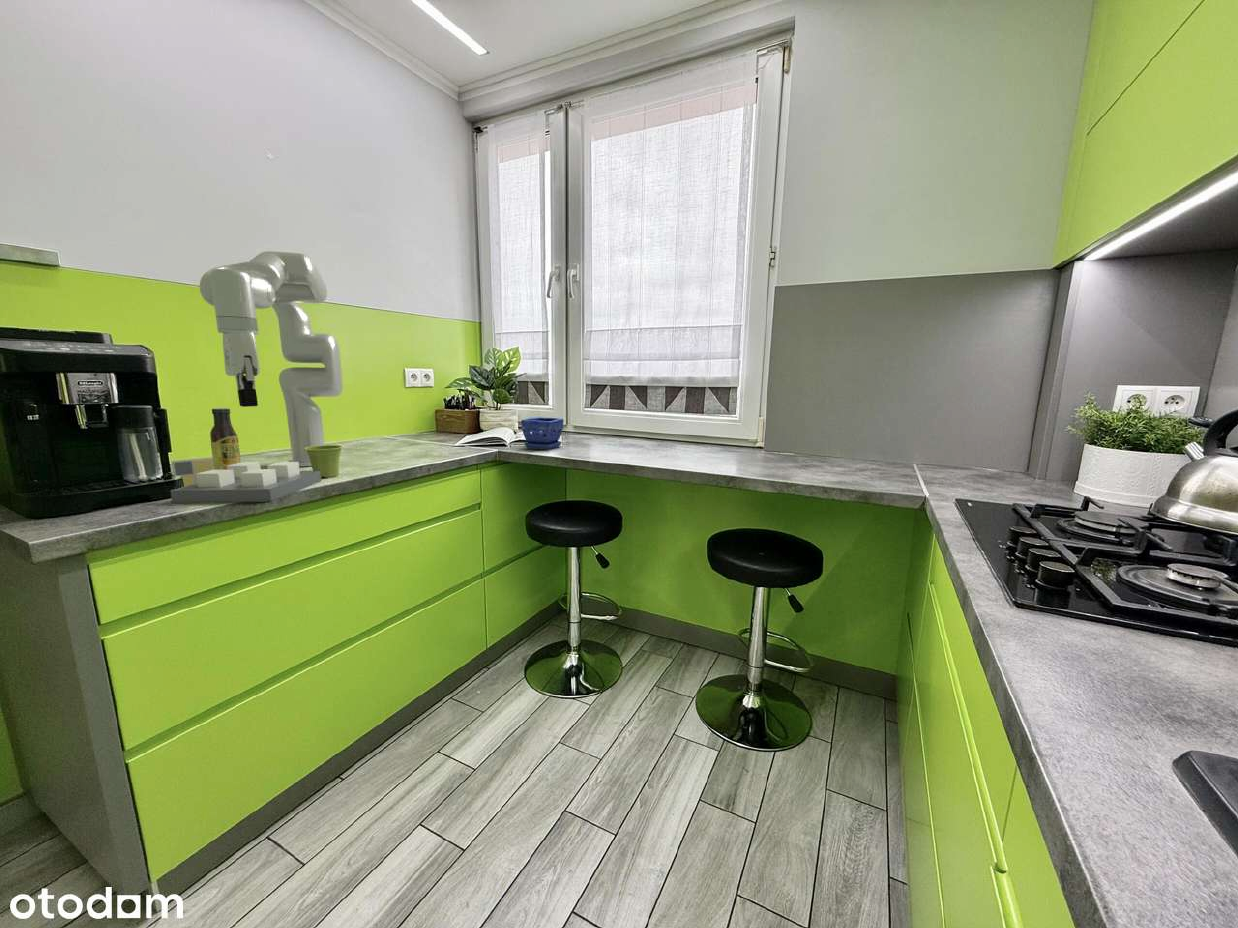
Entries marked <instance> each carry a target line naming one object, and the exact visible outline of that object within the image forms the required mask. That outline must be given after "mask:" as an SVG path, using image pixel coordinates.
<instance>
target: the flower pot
mask: <svg viewBox="0 0 1238 928" xmlns="http://www.w3.org/2000/svg"><path fill="white" fill-rule="evenodd" d="M520 422H521V424H520V425H521V430H522V433H523V436H524V438H525V441H526V442H525V443H524V446H525V447H526V448H527V449H534V450H543V449H544V450H545V451H548V450H552V449H555V448H559V447H560V446H561V444H562V443H563V442H562V441H559V440H560V438H561V435H562V433H563V427H564V418H559V417H529V418H524V419H521V421H520Z"/></svg>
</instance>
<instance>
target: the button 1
mask: <svg viewBox="0 0 1238 928" xmlns="http://www.w3.org/2000/svg"><path fill="white" fill-rule="evenodd" d="M196 477H197V483H198V487H223V486H226V485H229V484H232V483H235V479H234V472H233V470H209V471H205V472H201V473H197V474H196Z"/></svg>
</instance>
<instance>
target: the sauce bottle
mask: <svg viewBox="0 0 1238 928" xmlns="http://www.w3.org/2000/svg"><path fill="white" fill-rule="evenodd" d="M211 414H212V415H213V424H214V425H213V426H212V428H211V430H210V433H209V434H210V436H209V437H210V447H211V454H212V455H211V457H212V458H213V464H214V470H227V466H228V465H232V464H236V463H240V462H242V461H241V454H240V445H239V436H238V434H237V433H236V430H235V429H234V426H233V424H232V420H231V409H230V408H227V407H226V408H225V407H224V408H223V407H221V408H211Z"/></svg>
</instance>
